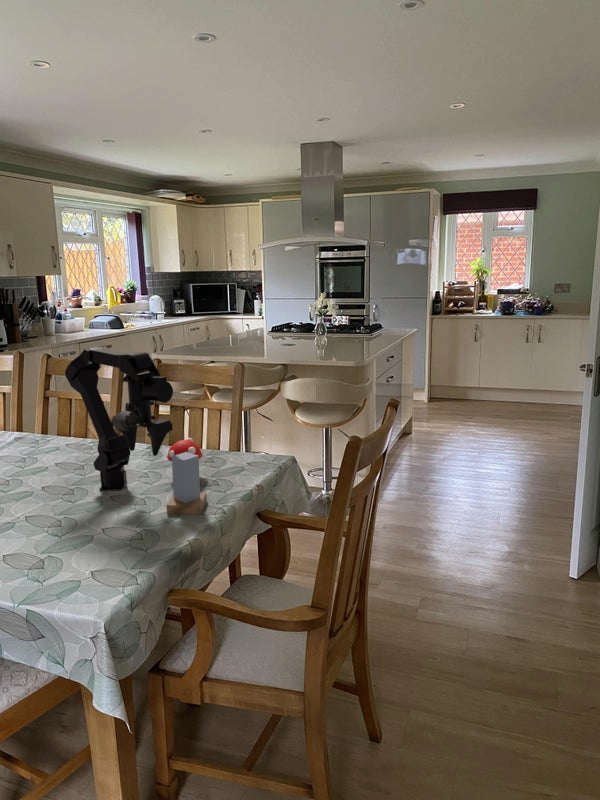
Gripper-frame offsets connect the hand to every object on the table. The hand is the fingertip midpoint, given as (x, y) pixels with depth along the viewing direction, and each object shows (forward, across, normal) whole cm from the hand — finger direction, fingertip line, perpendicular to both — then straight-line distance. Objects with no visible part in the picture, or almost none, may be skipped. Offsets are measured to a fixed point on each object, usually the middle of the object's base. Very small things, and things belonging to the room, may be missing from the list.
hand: (143, 453), depth 167 cm
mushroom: (+13, -2, +18) cm, 22 cm away
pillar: (+10, +15, 0) cm, 18 cm away
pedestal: (+14, +15, 0) cm, 20 cm away
